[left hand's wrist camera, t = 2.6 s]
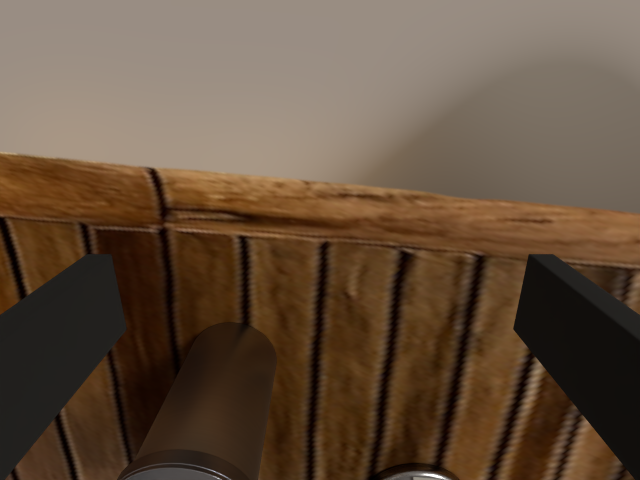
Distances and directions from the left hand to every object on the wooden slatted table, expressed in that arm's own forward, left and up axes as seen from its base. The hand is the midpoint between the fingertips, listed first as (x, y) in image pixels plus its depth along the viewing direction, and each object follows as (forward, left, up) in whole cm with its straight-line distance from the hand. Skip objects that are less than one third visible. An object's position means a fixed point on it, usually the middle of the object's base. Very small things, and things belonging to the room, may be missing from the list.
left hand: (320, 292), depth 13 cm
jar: (-24, +10, -28) cm, 39 cm away
